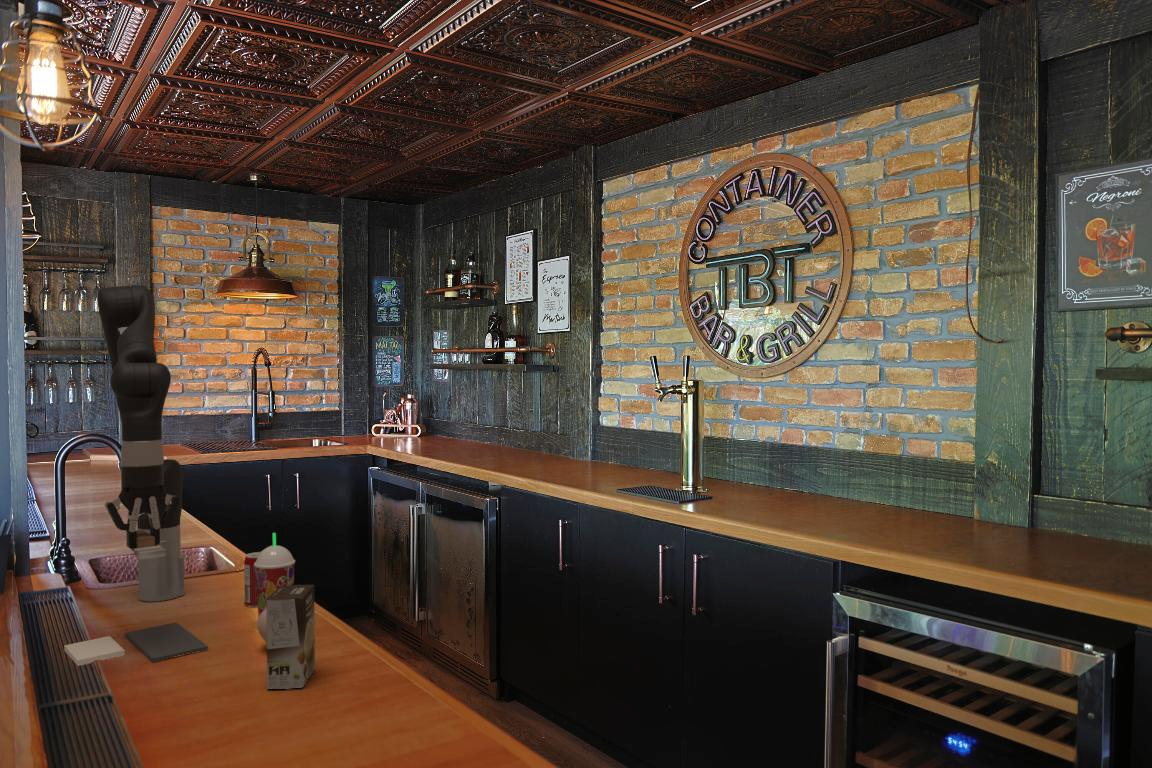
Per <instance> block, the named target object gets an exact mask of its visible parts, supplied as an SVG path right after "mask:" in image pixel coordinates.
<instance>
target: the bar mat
mask: <svg viewBox="0 0 1152 768" xmlns="http://www.w3.org/2000/svg"><path fill="white" fill-rule="evenodd" d="M124 637H125V638H126V639H127V640H128V641H129V642H131V644H132V645H133V646H134V647H136V648H137V649H138V650H139V651H140V652H141V653H142V654H143V655H144V656H145V657H146V658H147V659H148V660H150V662H152V663H153V664H154V663H158V662H157V661H159V662H162V661H161V660H163V661H165V660H164V659H167V658H171V657H174V656H178V655H182V654H187V653H192V652H197V651H202V650H207V649H208V650H209V646H208V645H207V644H206V643H205V642H203V641H202V640H200V639H199V638H197V637H196V636H195V635H193V634H192V632H190V631H188V630H187V629H186V628H184V626H182V625H181V624H180V623H178V622H172V623H166V624H162V625H157V626H153V627H152V626H151V627H146V628H141V629H137V630H132V631H127V632H124ZM208 650H207V651H208ZM202 652H203V651H202ZM167 660H168V659H167Z"/></svg>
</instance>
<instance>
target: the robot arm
mask: <svg viewBox="0 0 1152 768" xmlns="http://www.w3.org/2000/svg"><path fill="white" fill-rule="evenodd" d="M96 302H97V309H98V313H99V317H100V322H101V326H102V330H103V334H104V337H105V341H106V345H107V349H108V354H109V358H110V359H109V360H110V364H111V371H112V372H111V376H110V387H111V391H113V393H114V394H115V397H116V403H117V407H118V412H119V417H120V423H121V440H122V441H121V447H120V448H121V450H120V480H121V481H120V482H121V483H120V484H121V486H120V487H121V491H120V493H119V495H118V497H117V498H115V499H112V501H105V503H104V507H105V509H106V510H107V512H108V514H109V516H110V517H111V520H112V521H113V523H114V525H115V528H117V529H118V530H120V531H125V532H127V538H126V546H127V545H128V547H127V548H129V549H130V548H131V549H130V550H131V551H133V552H134V549H137V532H136V530H144V531H145V532H147V533H149V534H150V535H152V536H154V537H155V546H161V547H162V548H164V549H166V556H162V557H154V558H147V559H139V558H137V561H138V600H139V601H142V602H152V603H153V602H162V601H168V600H172V599H176V598H178V597H182V596H184V595H185V560H184V559H185V558H184V555H182V552H181V551H182V549H181V548H182V544H181V543H182V542H181V541H182V540H181V537H182V536H181V515H182V511H183V484H184V483H183V481H184V476H183V475H184V474H183V470H182V469H183V468H182V466H181V464H180V462H179V461H178V460H176V459H165V456H164V447H163V446H164V445H163V440H162V436H163V435H162V434H163V433H162V423H163V422H162V418H163V417H162V416H163V410H164V405H165V402H166V399H167V396H168V392H169V389H170V385H171V380H172V376H171V372H170V370H169V368H168V367H167V366H166V365H165V364H163V363H159V362H158V360H157V359H158V357H157V352H156V348H155V347H156V346H155V340H154V337H155V328H156V327H155V325H156V324H155V323H156V311H155V310H156V309H155V308H156V307H155V303H154V302H155V301H154V298H153V294H152V292H151V290H150V288H148V287H147V286H146V285H142V284H134V285H133V284H131V285H122V286H110V287H109V286H108V287H102V288H100V289H99V290H98V292H97V296H96ZM120 328H123V329H124V328H125V329H124V330H123V332H121V331H120ZM121 504H122V505H123V506H124V507H125V509H127V518H126V519H127V521H126V523H125V522H124V521H123V518H122V517H121V515H120V513H119V512H118V511H120V509H121V507H120V505H121Z"/></svg>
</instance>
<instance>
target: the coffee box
mask: <svg viewBox="0 0 1152 768" xmlns="http://www.w3.org/2000/svg"><path fill="white" fill-rule="evenodd" d="M266 609H267V642H266V681H267V684H266V685H267V686H266V687H267V689H286V690H290V689H289V688H300V687H304V688H305V686H306V685H307V683H308V682H309V680H310V678H311V677H312V675H313V674H314V672H315V671H316V649H315V648H316V646H315V645H316V640H315V637H316V634H315V628H316V625H315V623H316V622H315V621H316V620H315V615H316V614H315V584H294V585H291V586H280V587H279V588H278V589H277V590H276V591H274V592H273V593H272V594H271V595H270V596H269V597H268V598H267V599H266ZM314 670H315V671H314ZM313 671H314V672H313ZM312 673H313V674H312ZM311 674H312V675H311ZM310 676H311V677H310ZM309 677H310V678H309ZM308 679H309V680H308ZM306 682H307V683H306ZM304 685H305V686H304ZM267 689H266V690H267Z"/></svg>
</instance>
